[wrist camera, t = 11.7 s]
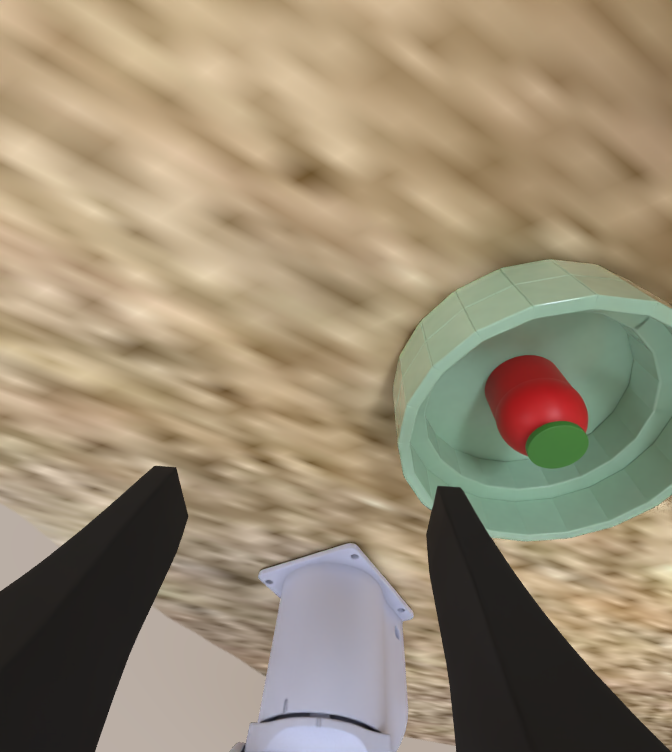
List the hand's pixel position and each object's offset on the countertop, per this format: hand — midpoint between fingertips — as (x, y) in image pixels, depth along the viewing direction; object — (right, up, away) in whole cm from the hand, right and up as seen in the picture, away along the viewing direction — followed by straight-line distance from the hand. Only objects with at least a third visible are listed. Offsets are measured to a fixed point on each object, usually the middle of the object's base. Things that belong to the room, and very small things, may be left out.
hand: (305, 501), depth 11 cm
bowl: (+10, +3, +8) cm, 13 cm away
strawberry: (+10, +3, +8) cm, 13 cm away
